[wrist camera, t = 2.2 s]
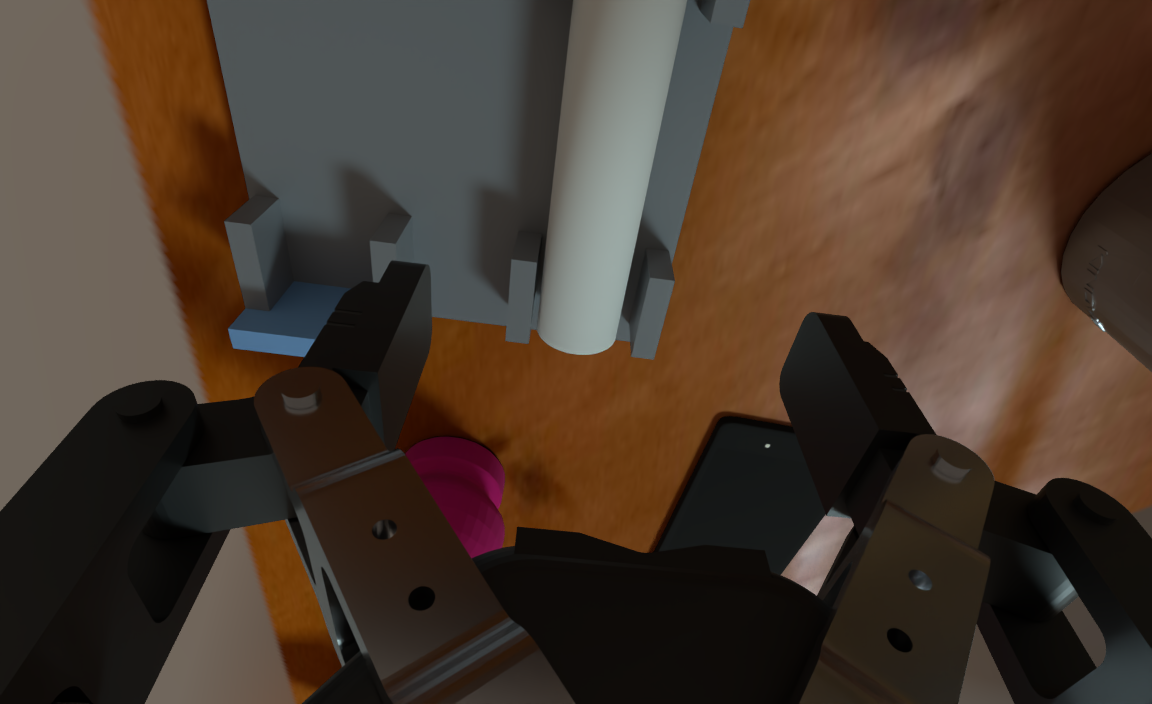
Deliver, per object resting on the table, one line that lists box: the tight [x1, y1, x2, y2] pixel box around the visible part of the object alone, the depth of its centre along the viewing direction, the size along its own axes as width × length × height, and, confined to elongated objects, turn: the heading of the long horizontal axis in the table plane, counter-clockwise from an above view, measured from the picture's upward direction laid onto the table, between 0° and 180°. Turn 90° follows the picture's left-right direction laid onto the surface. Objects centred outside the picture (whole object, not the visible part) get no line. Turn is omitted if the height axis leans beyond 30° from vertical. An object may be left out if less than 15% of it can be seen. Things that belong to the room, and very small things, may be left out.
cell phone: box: [654, 416, 826, 575], centre depth 38 cm, size 9×18×1 cm, turn 168°
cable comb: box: [207, 0, 750, 359], centre depth 21 cm, size 19×18×5 cm
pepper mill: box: [405, 436, 505, 558], centre depth 28 cm, size 7×7×20 cm
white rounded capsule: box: [537, 0, 687, 355], centre depth 21 cm, size 16×4×4 cm, turn 173°
